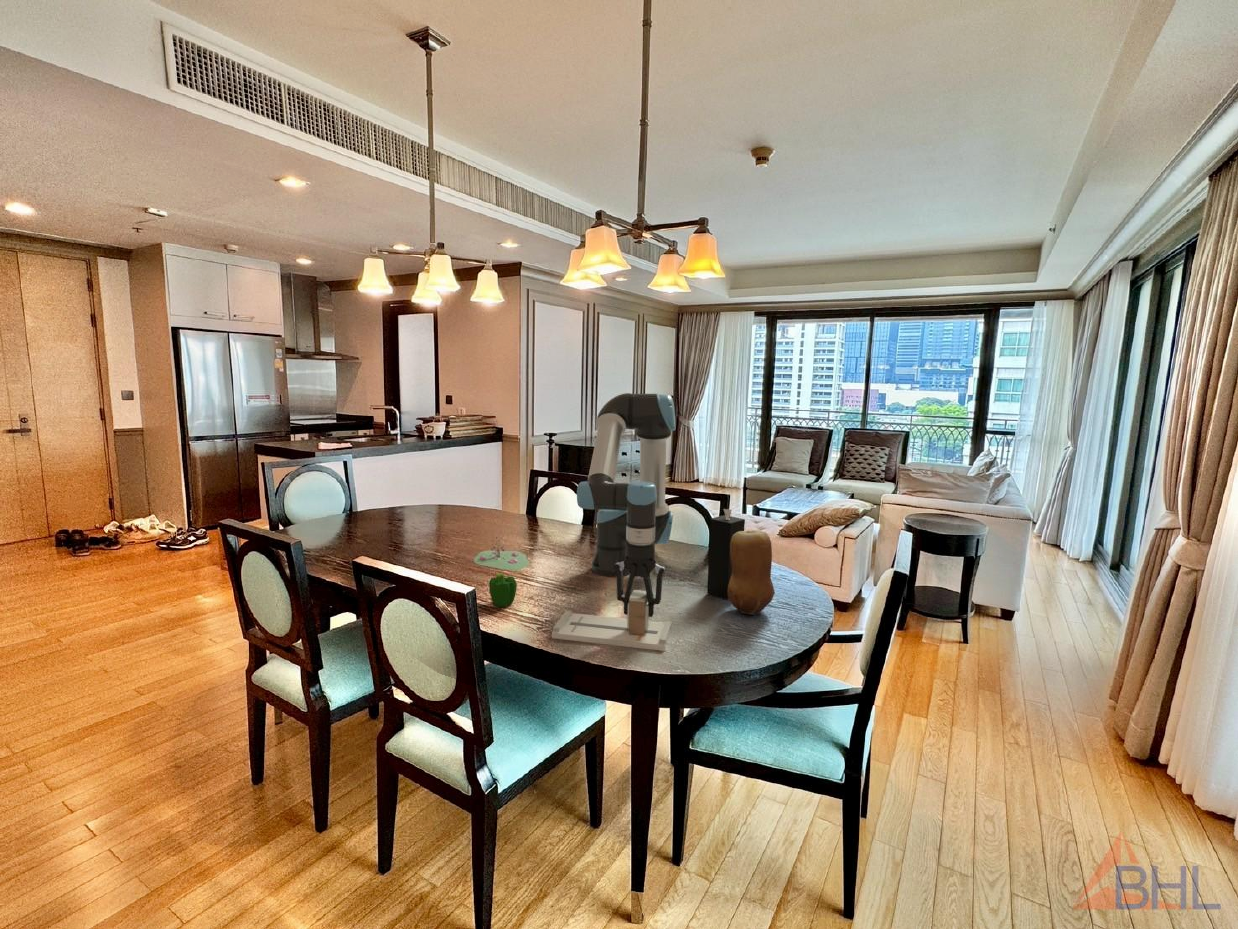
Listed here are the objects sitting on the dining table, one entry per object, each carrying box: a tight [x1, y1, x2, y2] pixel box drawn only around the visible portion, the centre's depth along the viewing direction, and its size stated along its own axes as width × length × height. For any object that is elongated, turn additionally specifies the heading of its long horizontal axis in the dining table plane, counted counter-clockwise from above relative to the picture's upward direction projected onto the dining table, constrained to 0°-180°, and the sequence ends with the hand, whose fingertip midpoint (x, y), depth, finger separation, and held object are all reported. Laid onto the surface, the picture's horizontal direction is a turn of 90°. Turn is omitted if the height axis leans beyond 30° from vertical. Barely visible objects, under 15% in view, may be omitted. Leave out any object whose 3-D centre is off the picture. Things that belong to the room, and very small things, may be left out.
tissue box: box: [706, 508, 746, 600], centre depth 189 cm, size 8×8×28 cm
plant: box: [473, 536, 530, 572], centre depth 221 cm, size 25×21×9 cm
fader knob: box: [629, 589, 648, 635], centre depth 158 cm, size 6×4×10 cm, turn 168°
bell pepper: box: [488, 572, 518, 608], centre depth 179 cm, size 8×8×10 cm
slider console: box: [551, 610, 673, 652], centre depth 160 cm, size 14×30×2 cm, turn 78°
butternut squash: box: [728, 529, 776, 616], centre depth 174 cm, size 14×13×25 cm
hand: (638, 626), depth 158 cm, fingers closed on fader knob, 4 cm apart
